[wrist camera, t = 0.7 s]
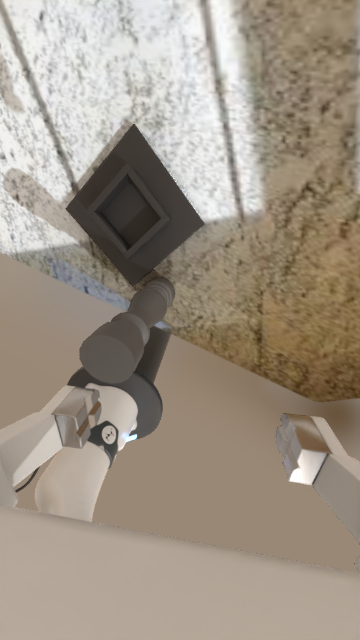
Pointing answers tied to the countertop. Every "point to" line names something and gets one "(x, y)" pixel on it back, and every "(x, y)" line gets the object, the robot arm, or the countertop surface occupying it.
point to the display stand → (134, 208)
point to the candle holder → (126, 334)
